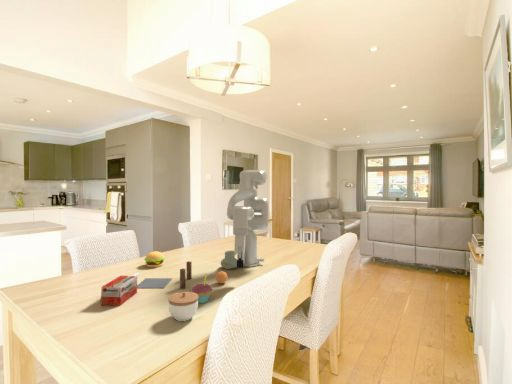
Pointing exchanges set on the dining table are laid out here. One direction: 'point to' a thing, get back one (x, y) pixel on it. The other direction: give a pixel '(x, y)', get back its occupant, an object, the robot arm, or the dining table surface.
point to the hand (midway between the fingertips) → (240, 267)
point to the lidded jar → (183, 305)
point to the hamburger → (154, 259)
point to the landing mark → (154, 283)
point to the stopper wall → (137, 275)
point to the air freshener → (229, 260)
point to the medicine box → (118, 290)
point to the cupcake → (202, 291)
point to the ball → (221, 277)
